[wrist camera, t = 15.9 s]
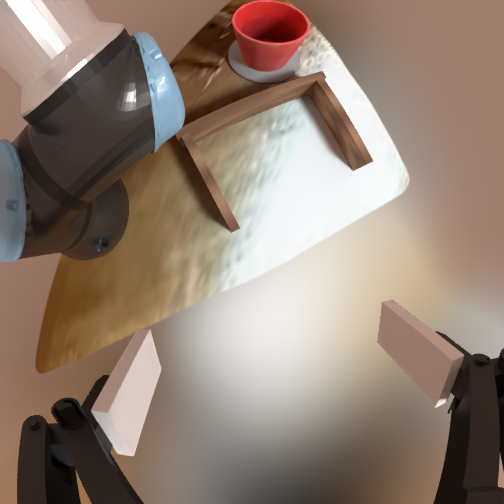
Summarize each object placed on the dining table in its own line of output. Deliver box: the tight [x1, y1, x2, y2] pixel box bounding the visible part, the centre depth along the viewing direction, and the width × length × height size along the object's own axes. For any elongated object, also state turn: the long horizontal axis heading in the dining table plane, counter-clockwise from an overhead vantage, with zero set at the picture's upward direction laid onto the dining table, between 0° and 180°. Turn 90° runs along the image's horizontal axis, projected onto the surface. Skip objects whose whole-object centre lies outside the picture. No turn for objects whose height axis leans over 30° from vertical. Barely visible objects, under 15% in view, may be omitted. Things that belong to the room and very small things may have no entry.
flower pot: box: [232, 0, 310, 72], centre depth 32 cm, size 11×11×10 cm
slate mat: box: [228, 40, 300, 84], centre depth 37 cm, size 12×12×1 cm
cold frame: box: [175, 71, 373, 233], centre depth 36 cm, size 16×24×5 cm, turn 118°
